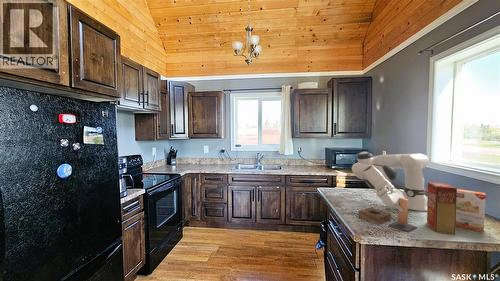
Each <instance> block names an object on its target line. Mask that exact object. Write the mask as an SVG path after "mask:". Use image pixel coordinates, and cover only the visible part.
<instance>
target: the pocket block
mask: <svg viewBox="0 0 500 281" xmlns="http://www.w3.org/2000/svg"><path fill="white" fill-rule="evenodd" d="M358 218H359V219H362V220H365V221H367V222H371V223H372V224H376V225H383V224H385V223H387V222H390V221H392V213H390V212H386V211H383V210H379V209H376V208H372V207H367V208H364V209H361V210H359V211H358Z"/></svg>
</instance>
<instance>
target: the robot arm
mask: <svg viewBox="0 0 500 281" xmlns="http://www.w3.org/2000/svg"><path fill="white" fill-rule="evenodd" d="M356 159H357V162H355V163H354V164H352V166H351V170H352V171H351V172H352V173H353V175H354V176H355V177H357V178H358V179H360V180H365V184H366V185H367V186H368V187H369V189H371V190H376V193H375V194H376V197H378V198H379V199H380V200H381V201H382V202H383V203H384V204H385V206H386V207H388V208H391V207H395V208H396V209H397V211H398V210H399V211H400V212H402V211H404V209H403V208H402V207H400V206H399V198H405V199H408V210H413V211H419V212H421V211H423V212H427V198H428V196H427V195H426V191H427V189H426V188H425V177H424V174H423V170H422V169H424V168H426V167H427V166H428V165H429V164H430V159H429V157H427V156H426V154H422V153H398V154H397V153H396V154H379V155H374V154H373V153H371V152H369V151H361V152H359V153H357V155H356ZM398 169H399V170H403V173H404V177H405V178H404V187H403V193H402V192H401V191H400V190H399V189H398V188H395V186H394V185H393V184H392V183H391V182H392V181H394V180H396V179H397V176H398V175H397V171H396V170H398Z"/></svg>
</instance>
